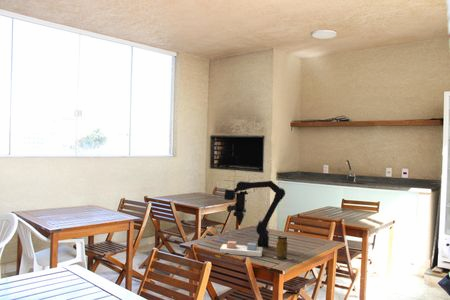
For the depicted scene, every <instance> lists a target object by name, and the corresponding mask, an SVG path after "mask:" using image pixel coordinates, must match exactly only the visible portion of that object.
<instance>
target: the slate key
mask: <svg viewBox="0 0 450 300" xmlns="http://www.w3.org/2000/svg"><path fill="white" fill-rule="evenodd" d="M246 246H247V250H256V247H258V242H247V245H246Z"/></svg>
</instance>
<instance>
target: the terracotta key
mask: <svg viewBox="0 0 450 300" xmlns="http://www.w3.org/2000/svg"><path fill="white" fill-rule="evenodd" d="M226 244H227V248H234V249H236V245H237V241H236V240H235V241H233V240H228V241H227V243H226Z"/></svg>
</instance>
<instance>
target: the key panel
mask: <svg viewBox="0 0 450 300" xmlns="http://www.w3.org/2000/svg"><path fill="white" fill-rule="evenodd" d="M263 250H264V247H258V246H256V250H247V245H243V244H242V245H241V244H236V249H234V248H227V243H222V245H221V247H220V248H219V253H220V252H224V253H223V254H225V253H229V254H228V255H236V256H237V255H239V256H249V257H262V255H263Z"/></svg>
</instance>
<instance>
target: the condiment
mask: <svg viewBox="0 0 450 300" xmlns="http://www.w3.org/2000/svg"><path fill="white" fill-rule="evenodd" d="M275 252H276V253H275V256H273V257H272V258H275V259H278V260H282V261H290V260H292V259H293V258H292V257H288V237H287V236H284V235H279V236H277V241H276V250H275Z"/></svg>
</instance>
